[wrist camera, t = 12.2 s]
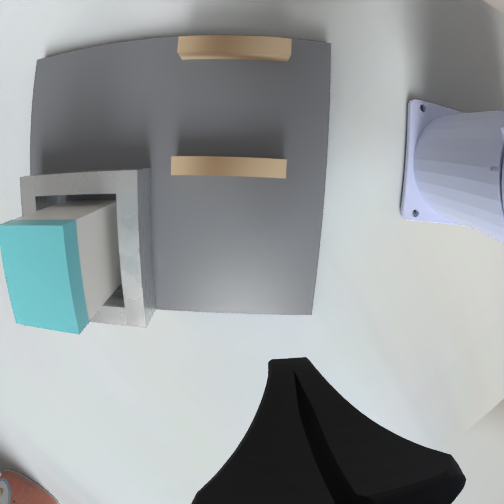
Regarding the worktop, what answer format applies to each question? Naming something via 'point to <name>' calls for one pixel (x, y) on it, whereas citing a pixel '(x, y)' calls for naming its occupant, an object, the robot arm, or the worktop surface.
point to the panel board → (200, 144)
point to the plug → (61, 263)
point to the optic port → (129, 232)
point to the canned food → (22, 490)
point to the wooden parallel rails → (232, 50)
